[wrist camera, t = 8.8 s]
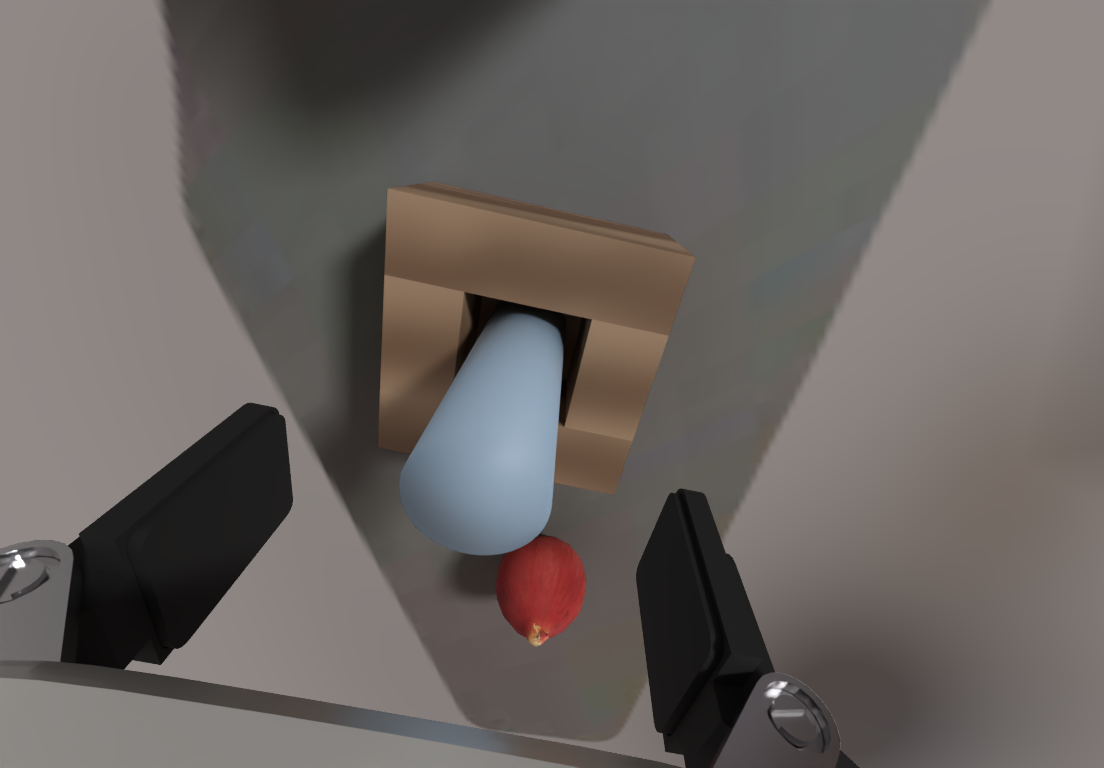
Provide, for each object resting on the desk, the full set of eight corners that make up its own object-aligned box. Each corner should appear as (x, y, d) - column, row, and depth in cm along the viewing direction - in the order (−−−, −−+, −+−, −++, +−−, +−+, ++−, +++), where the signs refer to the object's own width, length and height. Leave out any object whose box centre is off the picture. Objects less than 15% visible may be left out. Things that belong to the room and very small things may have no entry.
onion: (576, 574, 34) (575, 685, 27) (500, 562, 34) (479, 670, 27) (592, 516, 31) (596, 621, 24) (510, 502, 31) (490, 604, 24)
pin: (497, 282, 23) (403, 418, 11) (572, 298, 24) (566, 451, 11) (486, 352, 25) (394, 539, 13) (556, 367, 25) (536, 567, 13)
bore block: (433, 182, 22) (387, 188, 17) (667, 234, 23) (695, 257, 17) (416, 391, 28) (377, 447, 22) (607, 430, 28) (614, 494, 23)
